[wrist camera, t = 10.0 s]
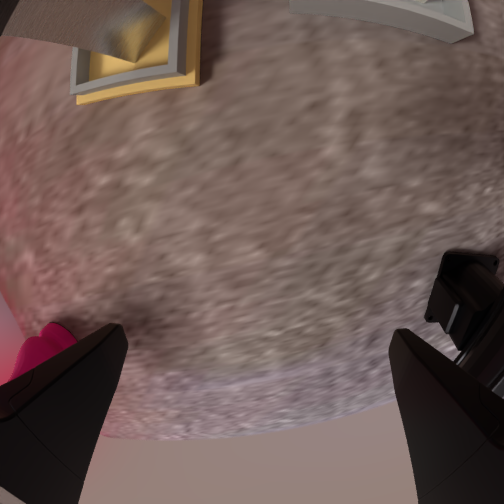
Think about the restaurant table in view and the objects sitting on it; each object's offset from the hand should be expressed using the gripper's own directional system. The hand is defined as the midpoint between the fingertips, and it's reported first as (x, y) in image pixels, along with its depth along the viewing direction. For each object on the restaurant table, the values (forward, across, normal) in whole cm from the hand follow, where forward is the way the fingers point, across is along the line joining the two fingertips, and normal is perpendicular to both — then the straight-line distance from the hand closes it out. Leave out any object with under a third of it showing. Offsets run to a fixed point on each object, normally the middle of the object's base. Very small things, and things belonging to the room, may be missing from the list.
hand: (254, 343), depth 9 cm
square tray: (+14, +9, -14) cm, 22 cm away
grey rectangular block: (+13, +9, -14) cm, 21 cm away
